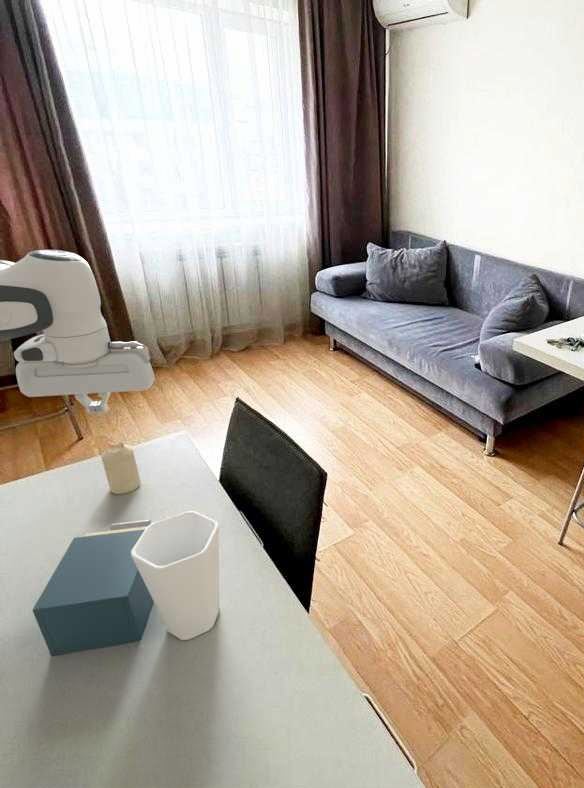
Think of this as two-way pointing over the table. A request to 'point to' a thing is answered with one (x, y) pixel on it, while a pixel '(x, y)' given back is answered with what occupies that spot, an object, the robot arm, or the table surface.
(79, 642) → the blue-grey box
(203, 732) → the table surface
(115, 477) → the candle
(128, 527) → the tray
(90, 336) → the robot arm
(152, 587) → the cup
